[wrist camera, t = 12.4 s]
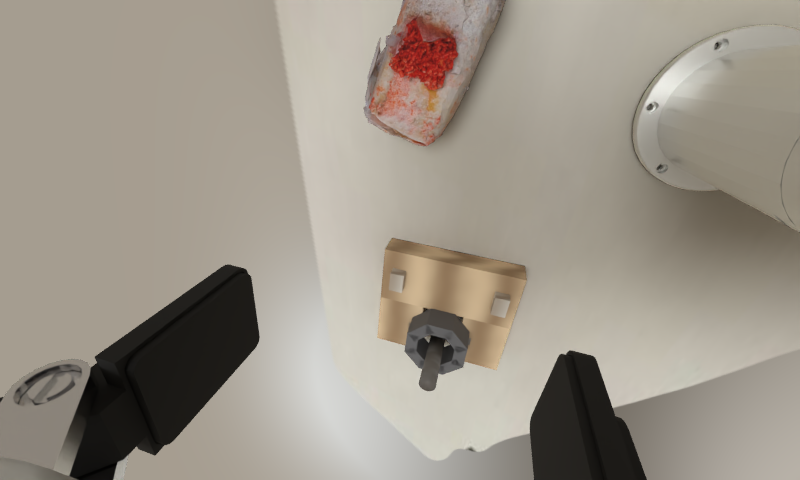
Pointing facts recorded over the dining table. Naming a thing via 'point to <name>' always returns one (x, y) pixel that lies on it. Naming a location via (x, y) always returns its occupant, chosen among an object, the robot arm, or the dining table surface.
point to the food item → (428, 65)
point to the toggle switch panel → (449, 300)
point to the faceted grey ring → (441, 327)
